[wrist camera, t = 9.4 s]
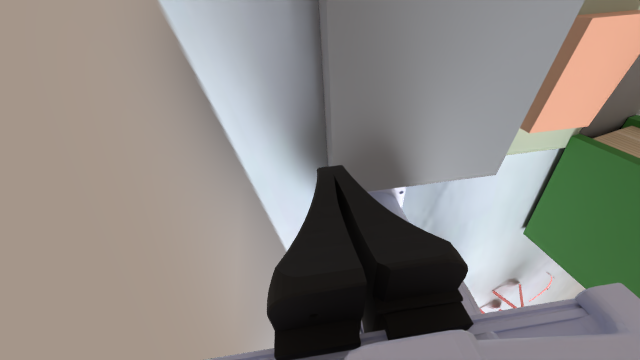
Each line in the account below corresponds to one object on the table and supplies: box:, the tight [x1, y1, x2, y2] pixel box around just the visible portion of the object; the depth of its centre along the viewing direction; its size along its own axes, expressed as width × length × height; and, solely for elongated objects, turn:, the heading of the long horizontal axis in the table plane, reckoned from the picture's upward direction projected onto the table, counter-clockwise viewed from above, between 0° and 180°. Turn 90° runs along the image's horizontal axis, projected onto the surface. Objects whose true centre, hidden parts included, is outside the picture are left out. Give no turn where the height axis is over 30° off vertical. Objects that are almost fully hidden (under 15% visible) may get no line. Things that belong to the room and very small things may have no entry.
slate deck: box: [318, 0, 585, 192], centre depth 19 cm, size 16×16×4 cm
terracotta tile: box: [520, 10, 640, 133], centre depth 20 cm, size 9×6×2 cm, turn 3°
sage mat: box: [506, 0, 640, 155], centre depth 21 cm, size 17×11×1 cm, turn 4°
